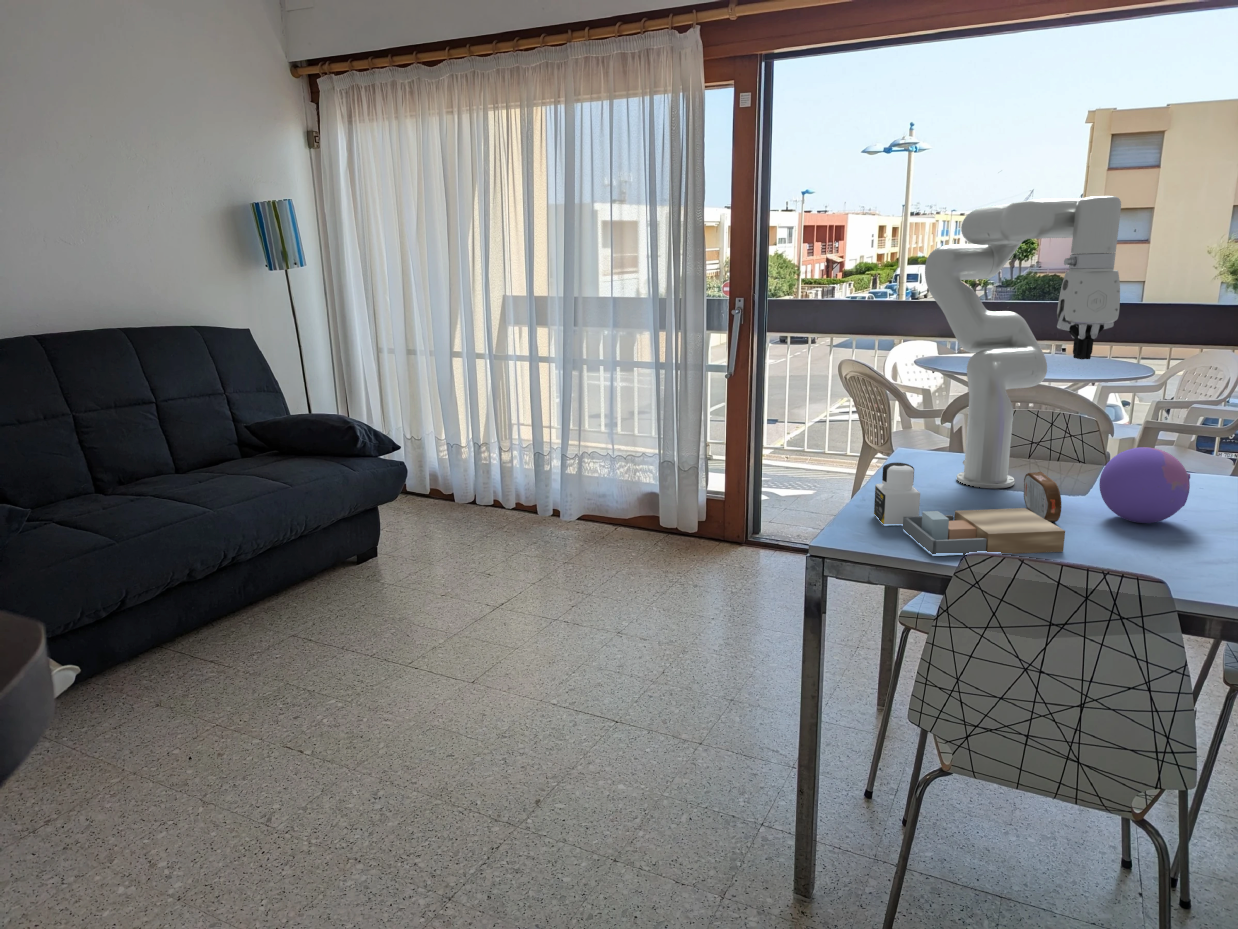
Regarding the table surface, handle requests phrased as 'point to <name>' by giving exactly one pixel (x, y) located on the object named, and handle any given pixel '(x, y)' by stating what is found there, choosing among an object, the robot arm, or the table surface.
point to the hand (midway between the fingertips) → (1081, 358)
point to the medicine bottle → (896, 494)
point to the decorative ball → (1144, 485)
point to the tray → (941, 546)
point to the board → (1014, 530)
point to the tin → (1042, 496)
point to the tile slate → (935, 525)
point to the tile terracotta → (961, 530)
